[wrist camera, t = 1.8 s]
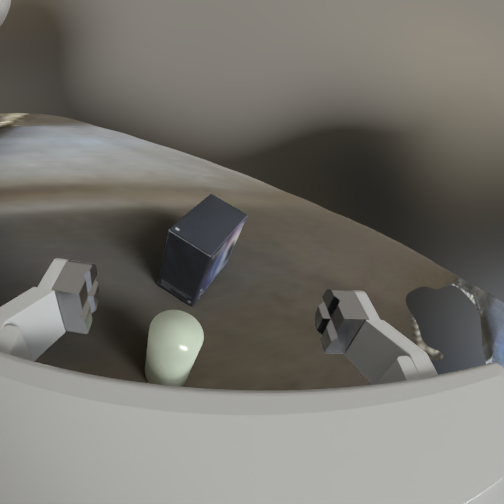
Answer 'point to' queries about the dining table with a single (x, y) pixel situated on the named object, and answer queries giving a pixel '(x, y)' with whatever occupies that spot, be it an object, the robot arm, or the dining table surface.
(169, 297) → the dining table surface
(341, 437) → the robot arm
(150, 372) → the pale green tall cylinder
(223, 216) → the small box
